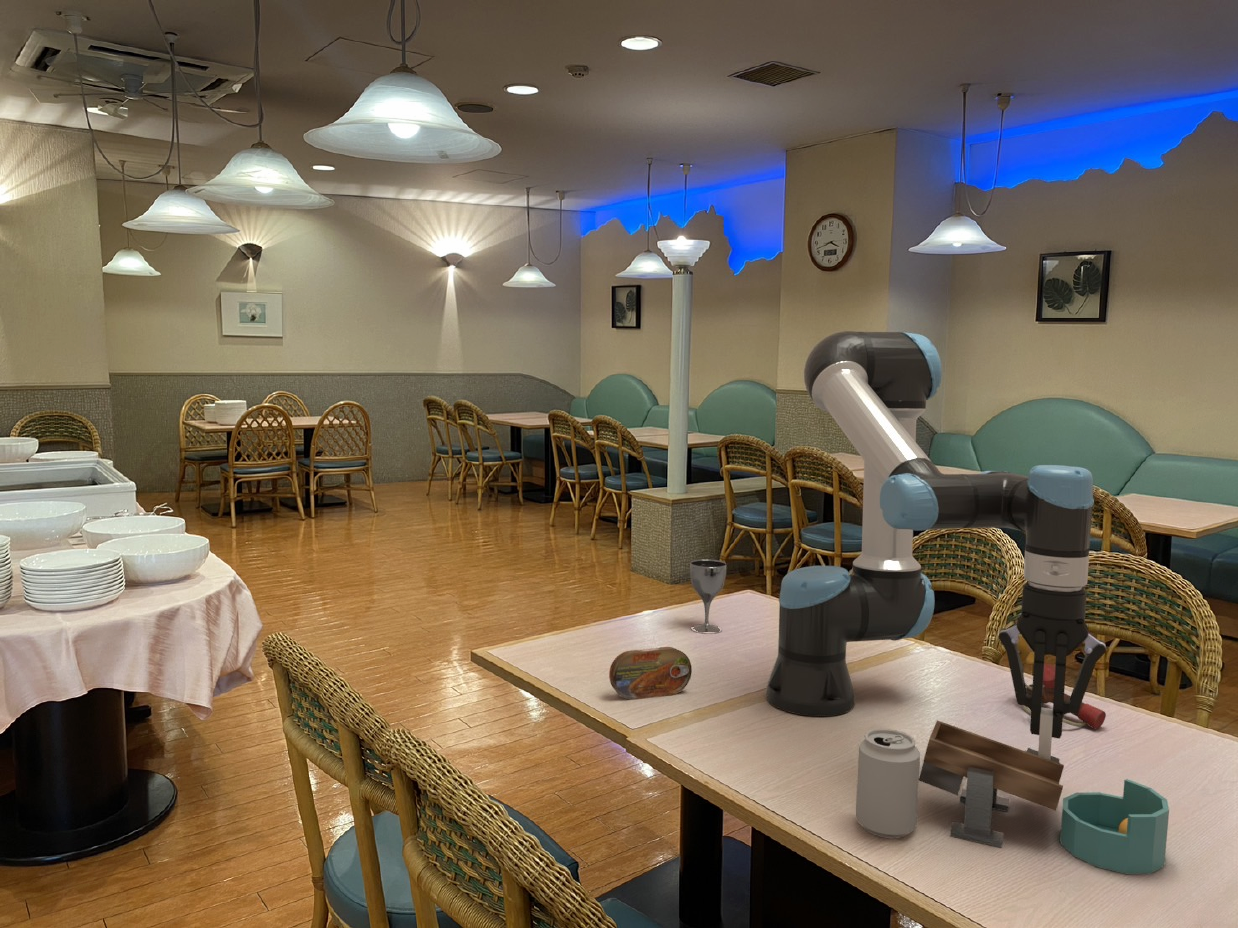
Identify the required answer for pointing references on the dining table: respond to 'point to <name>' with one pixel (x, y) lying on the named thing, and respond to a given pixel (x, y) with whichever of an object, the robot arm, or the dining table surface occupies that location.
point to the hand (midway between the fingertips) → (1044, 758)
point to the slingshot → (1086, 711)
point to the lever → (990, 765)
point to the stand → (980, 809)
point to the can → (887, 783)
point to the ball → (1123, 827)
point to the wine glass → (707, 586)
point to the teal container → (1097, 823)
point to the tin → (650, 673)
